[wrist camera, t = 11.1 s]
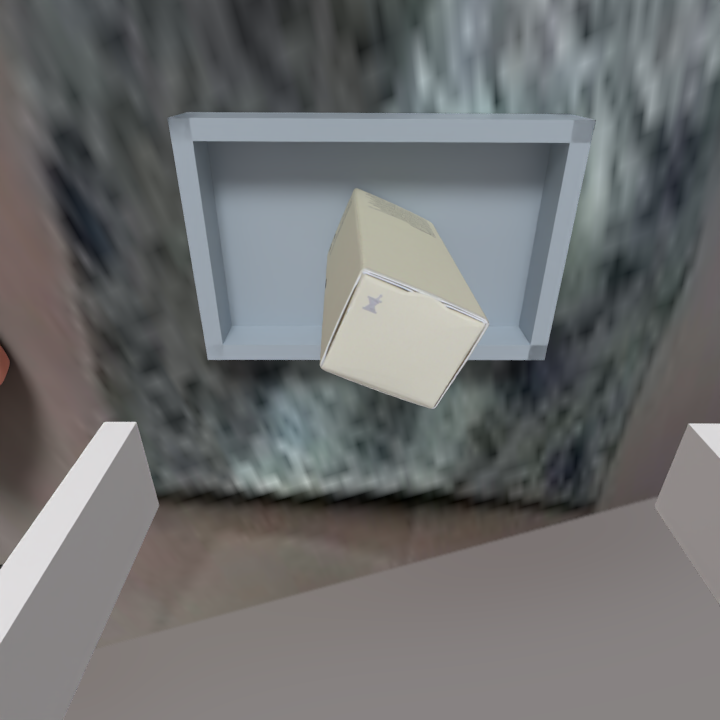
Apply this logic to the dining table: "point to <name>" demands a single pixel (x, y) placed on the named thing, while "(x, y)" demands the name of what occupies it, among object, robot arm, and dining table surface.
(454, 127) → the bin
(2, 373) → the teapot
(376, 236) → the box
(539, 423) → the dining table surface
